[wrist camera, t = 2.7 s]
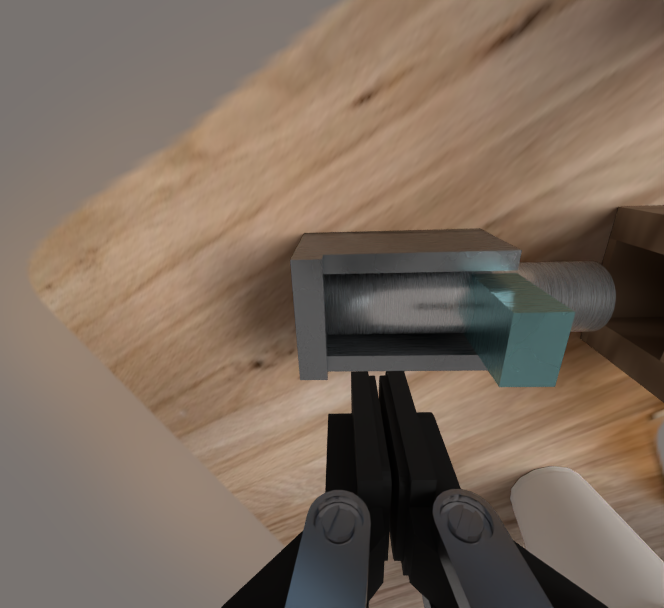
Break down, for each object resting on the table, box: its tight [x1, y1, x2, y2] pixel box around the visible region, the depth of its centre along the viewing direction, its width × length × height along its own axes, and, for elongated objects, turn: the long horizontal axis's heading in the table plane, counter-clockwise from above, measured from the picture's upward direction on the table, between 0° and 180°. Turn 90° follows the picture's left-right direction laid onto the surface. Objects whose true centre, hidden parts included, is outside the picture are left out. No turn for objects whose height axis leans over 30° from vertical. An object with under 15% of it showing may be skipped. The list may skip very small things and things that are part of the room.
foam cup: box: [510, 466, 664, 608], centre depth 24 cm, size 10×9×13 cm
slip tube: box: [324, 261, 616, 387], centre depth 18 cm, size 4×15×8 cm, turn 92°
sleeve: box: [290, 229, 522, 380], centre depth 20 cm, size 7×11×6 cm, turn 92°
